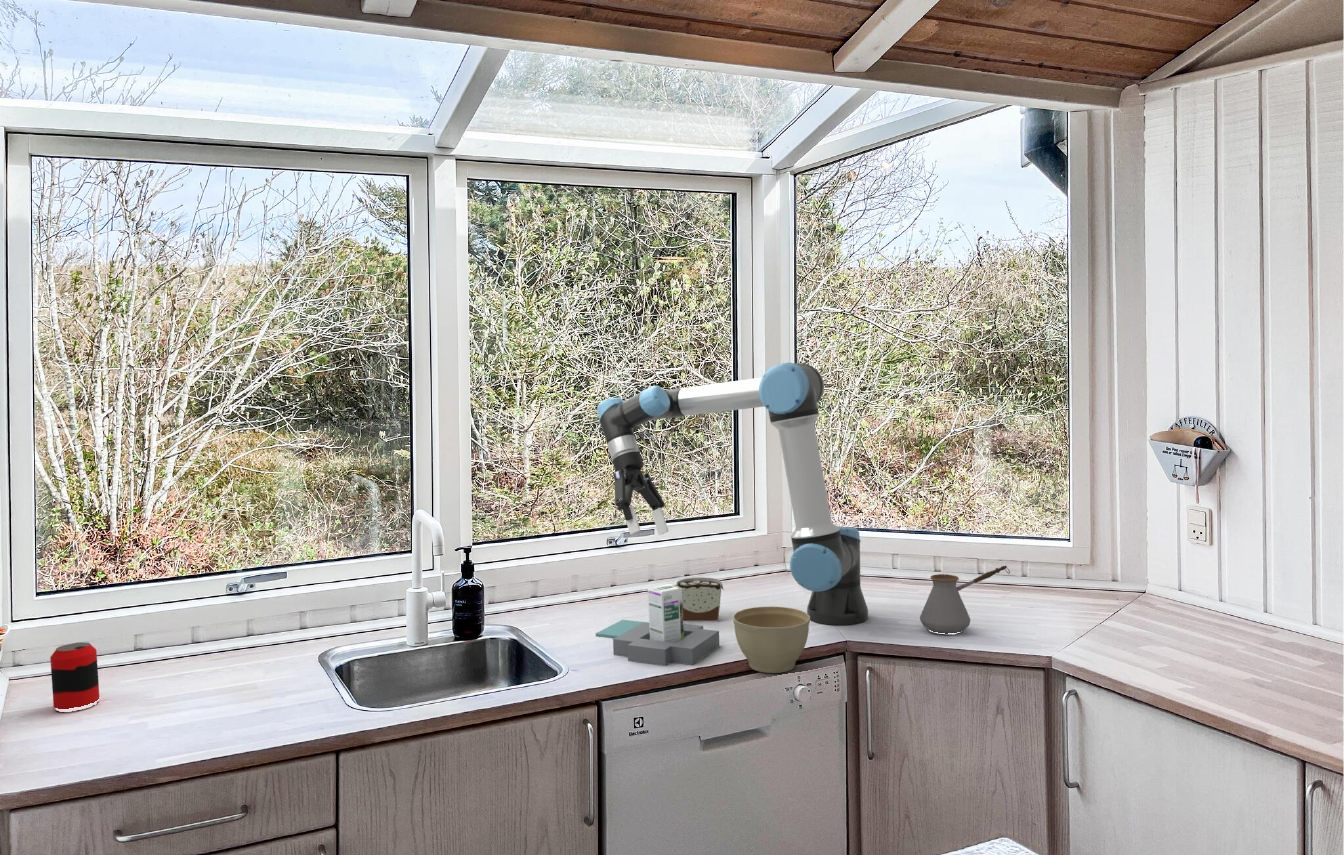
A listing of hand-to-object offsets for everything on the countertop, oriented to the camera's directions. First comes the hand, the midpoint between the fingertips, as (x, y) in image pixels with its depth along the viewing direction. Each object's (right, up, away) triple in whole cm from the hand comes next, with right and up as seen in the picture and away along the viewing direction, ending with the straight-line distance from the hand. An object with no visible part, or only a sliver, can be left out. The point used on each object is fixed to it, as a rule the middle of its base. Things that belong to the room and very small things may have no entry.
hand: (650, 533), depth 225 cm
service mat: (-4, -23, -7) cm, 25 cm away
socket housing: (+4, -24, -23) cm, 33 cm away
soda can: (-112, -29, -48) cm, 126 cm away
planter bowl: (+27, -24, -37) cm, 51 cm away
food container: (+13, -22, +3) cm, 26 cm away
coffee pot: (+75, -22, -14) cm, 79 cm away
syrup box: (+4, -24, -23) cm, 34 cm away
